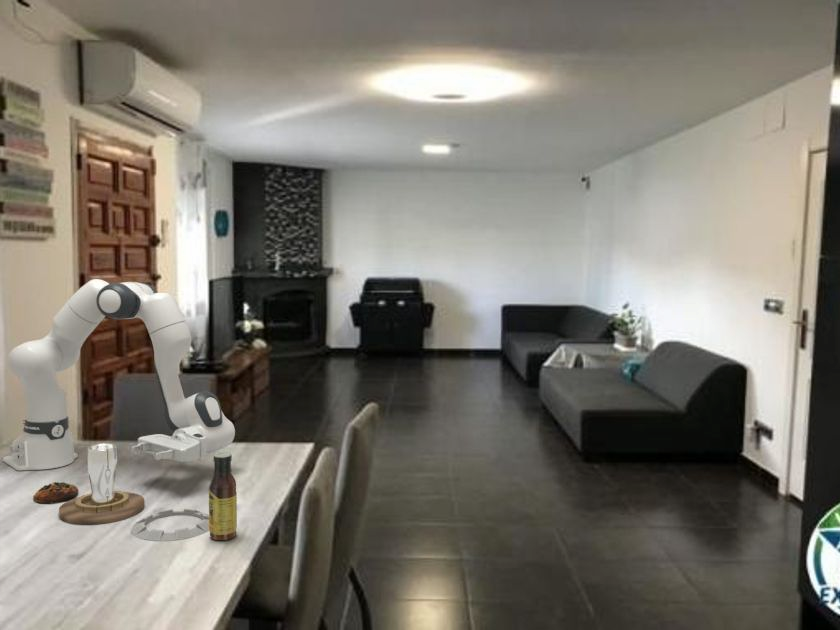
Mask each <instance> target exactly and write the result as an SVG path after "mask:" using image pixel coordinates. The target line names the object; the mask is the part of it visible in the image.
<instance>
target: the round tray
mask: <svg viewBox="0 0 840 630" xmlns="http://www.w3.org/2000/svg"><path fill="white" fill-rule="evenodd" d="M114 494H115V498H116V502H115V503H112V504H108V505H100V506H91V505H90V501H91V495H92V492H90V493H87V494H84V495H81V496H76V497H74V499H72V500H70V501H66V502H63V504H61V505H60V506H59V508H58V517H59V519H60V520H61V521H62V522H64V523H67V524H71V525H79V526H80V525H81V526H82V525H83V526H92V525H93V526H94V525H103V524H104V525H105V524H110V523H115V522H119V521H120V522H121V521H122V520H123V521H124V520H127V519H130V518H132V517H134V516H136V515H138V514H140V513H141V512H142V511H143V510H144V509H145V507H146V506H145V498H144V497H143V496H142V495H141V494H138V493H135V492H129V491H120V490H114Z"/></svg>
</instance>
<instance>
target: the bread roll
mask: <svg viewBox="0 0 840 630" xmlns="http://www.w3.org/2000/svg"><path fill="white" fill-rule="evenodd" d="M78 493H79V488H78V487H77V486H76V485H74V484H71V483H68V482H64V481H63V482H58V481H57V482H56V481H54V482H52V483H49V484H45V485H43V487H40V489H38V490H37V491H36V492H35V493H34V494H33V496H32V498H33V500H34V501H35V502H36V503H39V504H41V503H42V504H58V503H59V504H61V503H66V502H67V501H70V500H72V499H74V498H77V497H78V495H79V494H78Z"/></svg>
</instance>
